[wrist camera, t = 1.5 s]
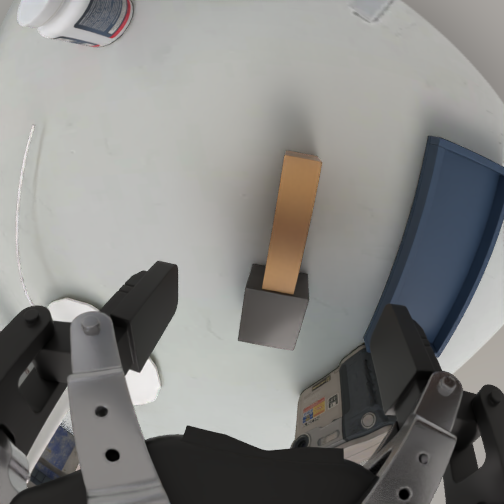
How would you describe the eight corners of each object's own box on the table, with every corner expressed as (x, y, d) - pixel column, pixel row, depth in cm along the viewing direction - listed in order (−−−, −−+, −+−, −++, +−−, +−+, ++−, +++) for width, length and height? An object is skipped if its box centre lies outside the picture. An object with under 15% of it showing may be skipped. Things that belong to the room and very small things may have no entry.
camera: (369, 334, 24) (390, 425, 15) (401, 360, 25) (424, 440, 16) (286, 392, 29) (279, 471, 20) (322, 410, 30) (321, 484, 21)
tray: (427, 135, 17) (439, 137, 15) (502, 168, 16) (515, 173, 14) (363, 337, 24) (366, 352, 23) (432, 344, 24) (438, 357, 22)
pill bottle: (131, -14, 14) (67, -49, 6) (138, 30, 16) (64, 1, 8) (83, 14, 15) (13, -4, 7) (87, 58, 17) (10, 49, 9)
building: (22, 412, 58) (-8, 458, 37) (19, 390, 48) (-22, 448, 28) (78, 455, 62) (53, 504, 41) (88, 445, 52) (55, 509, 31)
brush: (270, 147, 19) (264, 152, 16) (333, 159, 19) (341, 166, 15) (245, 313, 25) (237, 340, 22) (294, 322, 25) (293, 350, 21)
